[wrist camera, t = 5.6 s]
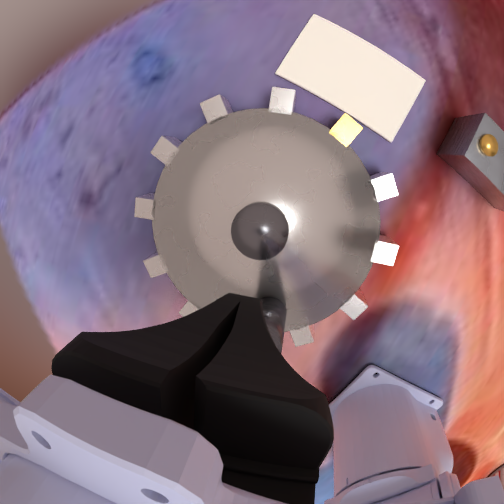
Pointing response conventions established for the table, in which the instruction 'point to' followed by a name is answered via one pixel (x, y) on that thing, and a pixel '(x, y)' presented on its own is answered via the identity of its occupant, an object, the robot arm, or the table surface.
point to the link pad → (352, 76)
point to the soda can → (500, 474)
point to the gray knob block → (477, 155)
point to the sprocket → (268, 214)
